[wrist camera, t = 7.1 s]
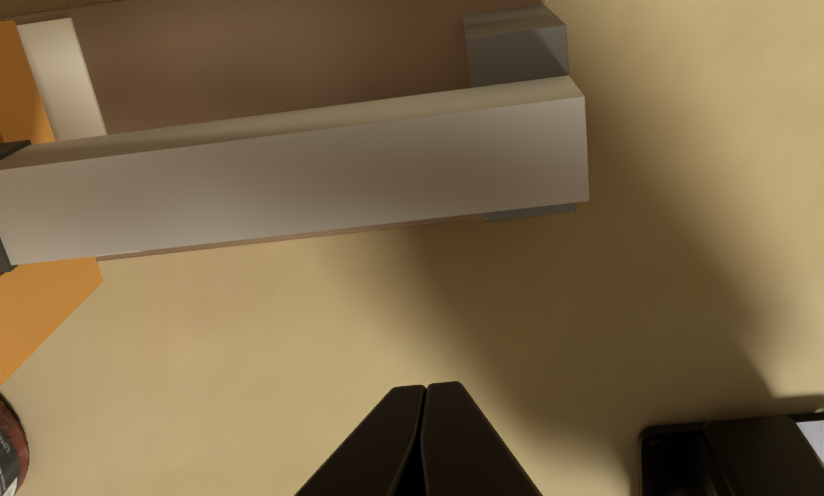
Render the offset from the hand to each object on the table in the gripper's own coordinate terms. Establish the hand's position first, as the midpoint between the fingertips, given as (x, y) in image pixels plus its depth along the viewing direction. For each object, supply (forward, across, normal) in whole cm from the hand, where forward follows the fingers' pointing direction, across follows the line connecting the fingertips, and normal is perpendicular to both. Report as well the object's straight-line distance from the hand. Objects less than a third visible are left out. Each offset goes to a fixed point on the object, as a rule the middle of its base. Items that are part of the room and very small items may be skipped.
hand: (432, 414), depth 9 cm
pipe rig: (+13, +7, -2) cm, 14 cm away
